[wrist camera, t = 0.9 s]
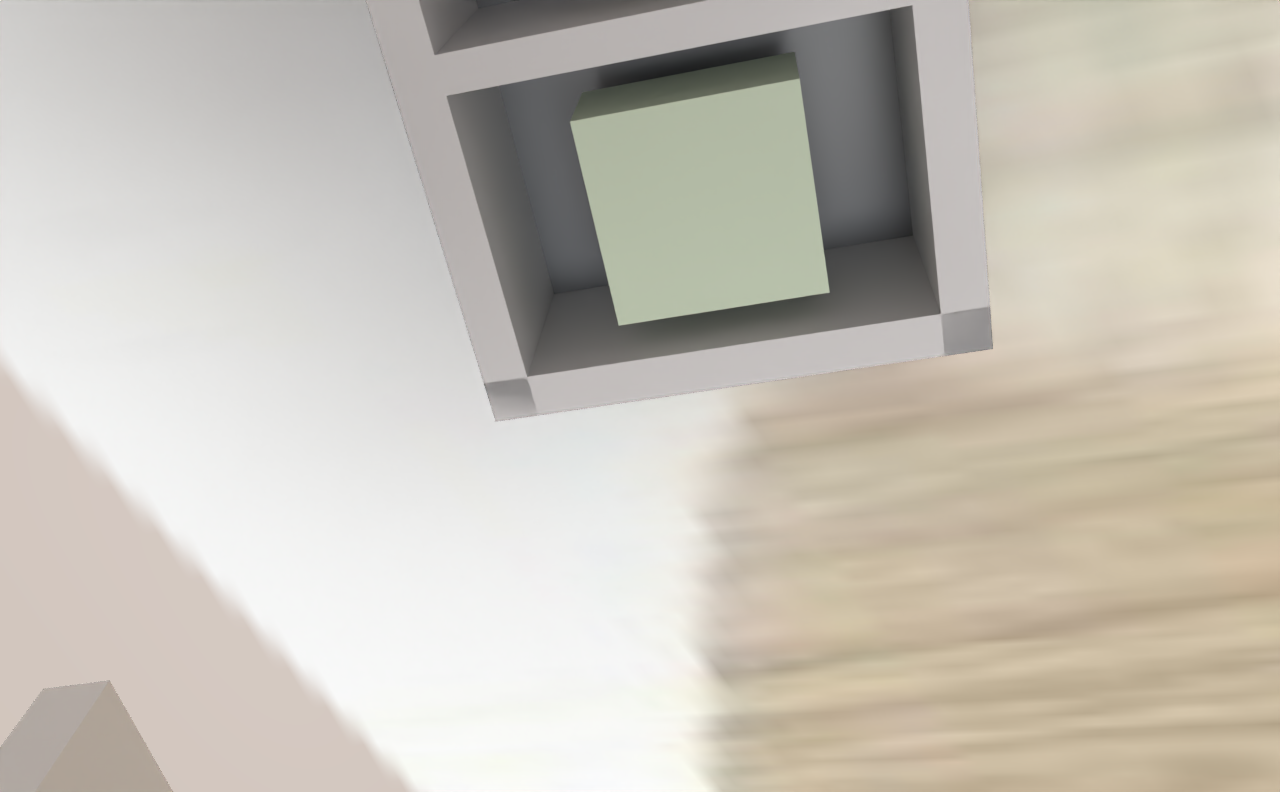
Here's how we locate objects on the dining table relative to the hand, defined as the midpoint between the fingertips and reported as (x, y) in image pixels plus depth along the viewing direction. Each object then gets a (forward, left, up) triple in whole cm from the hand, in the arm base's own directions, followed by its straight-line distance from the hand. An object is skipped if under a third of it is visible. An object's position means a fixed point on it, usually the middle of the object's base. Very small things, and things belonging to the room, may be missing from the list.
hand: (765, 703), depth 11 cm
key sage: (0, -1, -17) cm, 17 cm away
